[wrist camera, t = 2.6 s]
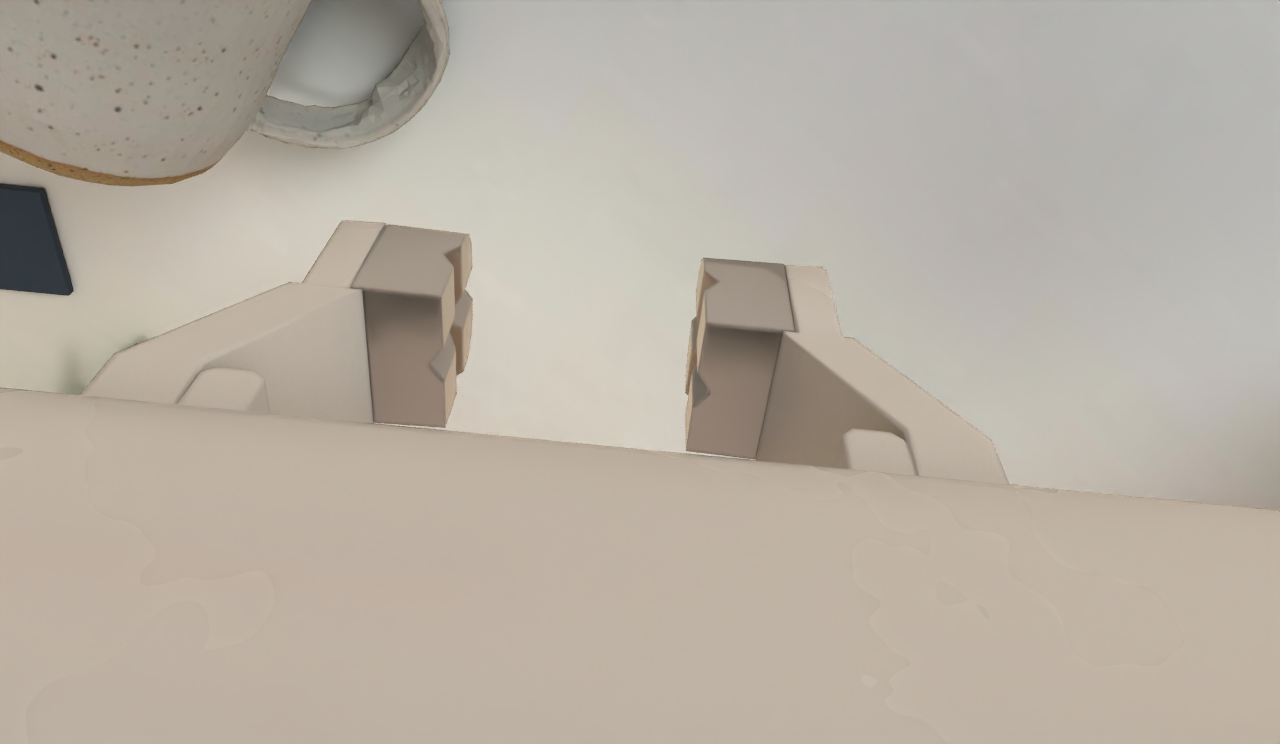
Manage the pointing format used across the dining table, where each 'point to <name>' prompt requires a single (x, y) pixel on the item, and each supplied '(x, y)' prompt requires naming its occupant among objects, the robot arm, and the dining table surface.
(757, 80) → the dining table surface
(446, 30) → the ceramic mug
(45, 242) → the dark grey flat piece
